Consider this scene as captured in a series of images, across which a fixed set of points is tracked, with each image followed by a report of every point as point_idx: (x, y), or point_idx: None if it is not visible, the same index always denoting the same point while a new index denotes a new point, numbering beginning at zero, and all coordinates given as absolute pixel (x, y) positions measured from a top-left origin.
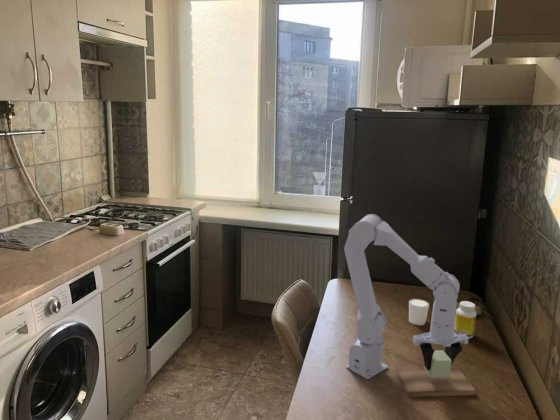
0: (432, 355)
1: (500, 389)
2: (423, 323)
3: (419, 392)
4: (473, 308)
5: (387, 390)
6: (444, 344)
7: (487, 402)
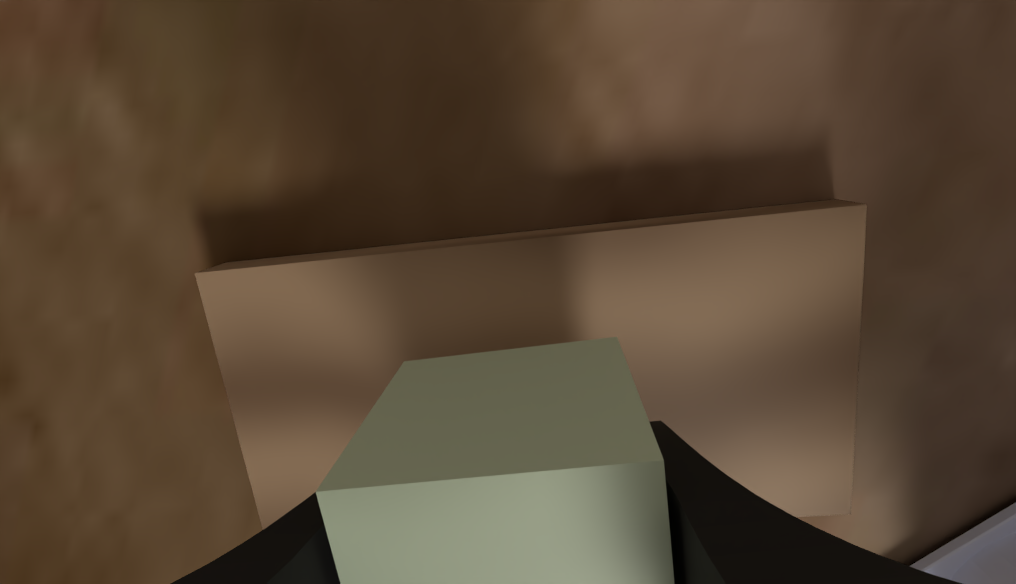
0: (715, 556)
1: (9, 349)
2: None
3: (741, 214)
4: None
5: (1003, 280)
6: None
7: (142, 169)
